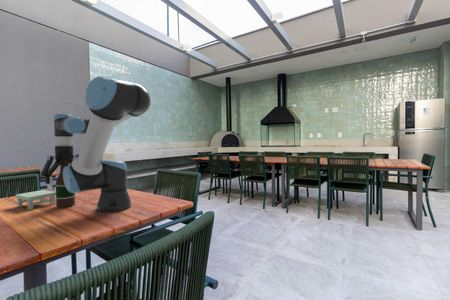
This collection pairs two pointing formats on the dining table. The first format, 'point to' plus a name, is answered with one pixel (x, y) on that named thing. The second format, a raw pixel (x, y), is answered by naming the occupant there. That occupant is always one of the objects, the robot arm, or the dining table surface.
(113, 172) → the robot arm
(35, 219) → the dining table surface
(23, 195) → the stool
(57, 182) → the beer bottle
